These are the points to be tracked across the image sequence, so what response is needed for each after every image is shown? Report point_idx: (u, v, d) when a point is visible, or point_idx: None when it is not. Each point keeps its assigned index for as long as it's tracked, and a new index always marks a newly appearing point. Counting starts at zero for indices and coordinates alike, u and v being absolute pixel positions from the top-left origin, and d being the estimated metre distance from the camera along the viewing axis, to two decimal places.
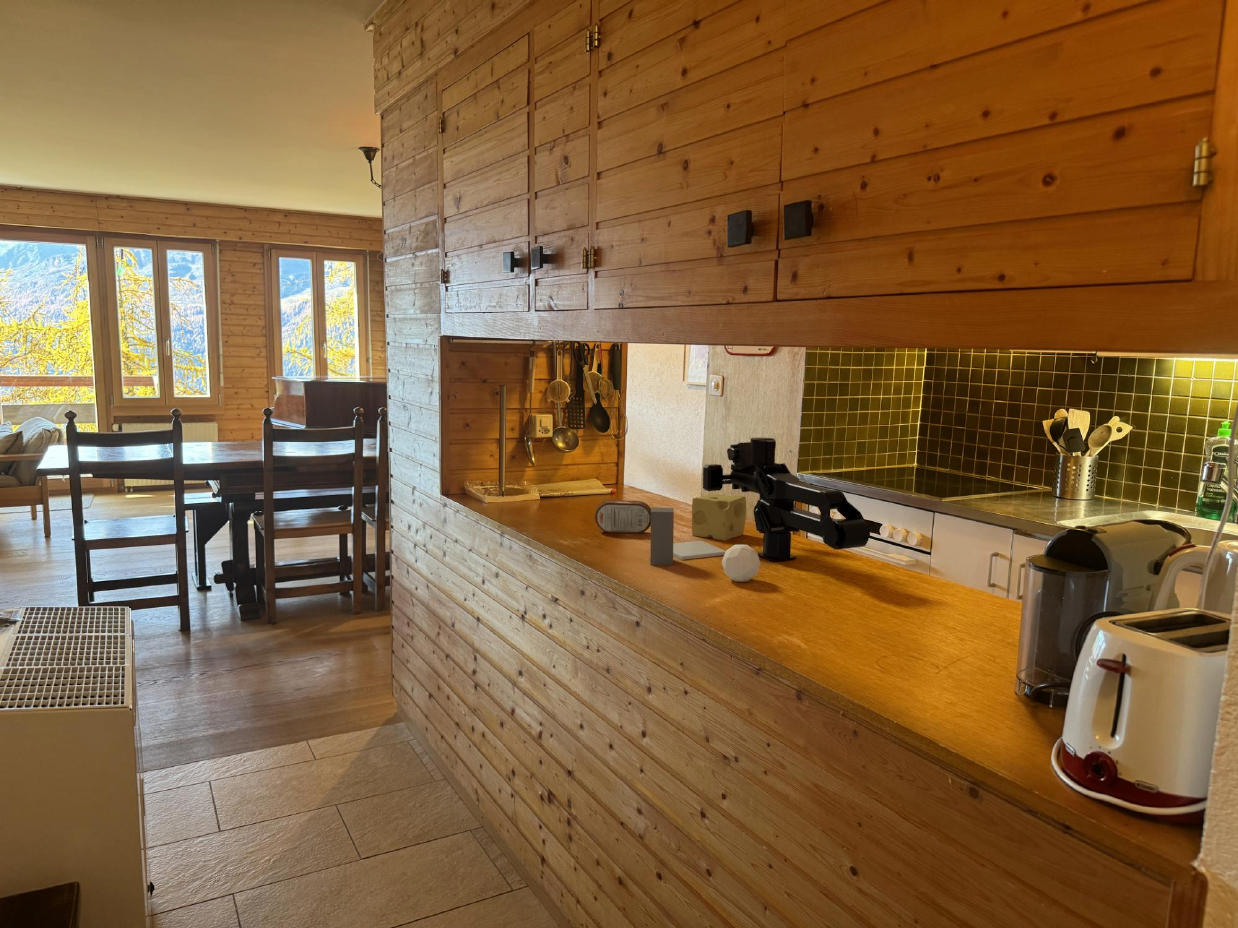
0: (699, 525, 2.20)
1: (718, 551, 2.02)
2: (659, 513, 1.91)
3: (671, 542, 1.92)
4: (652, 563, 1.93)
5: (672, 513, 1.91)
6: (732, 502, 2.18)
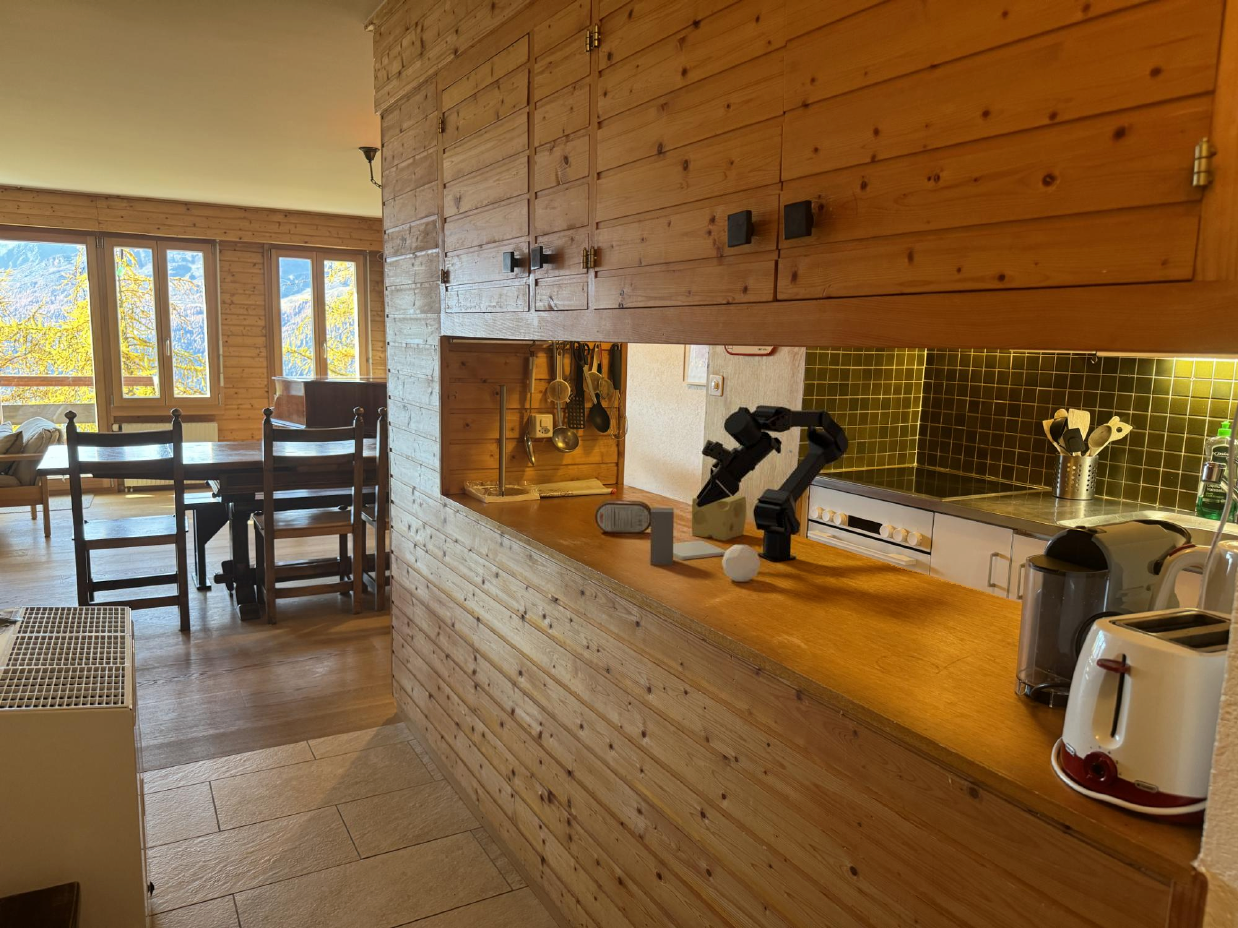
0: (699, 525, 2.20)
1: (718, 551, 2.02)
2: (659, 513, 1.91)
3: (671, 542, 1.92)
4: (652, 563, 1.93)
5: (672, 513, 1.91)
6: (732, 502, 2.18)
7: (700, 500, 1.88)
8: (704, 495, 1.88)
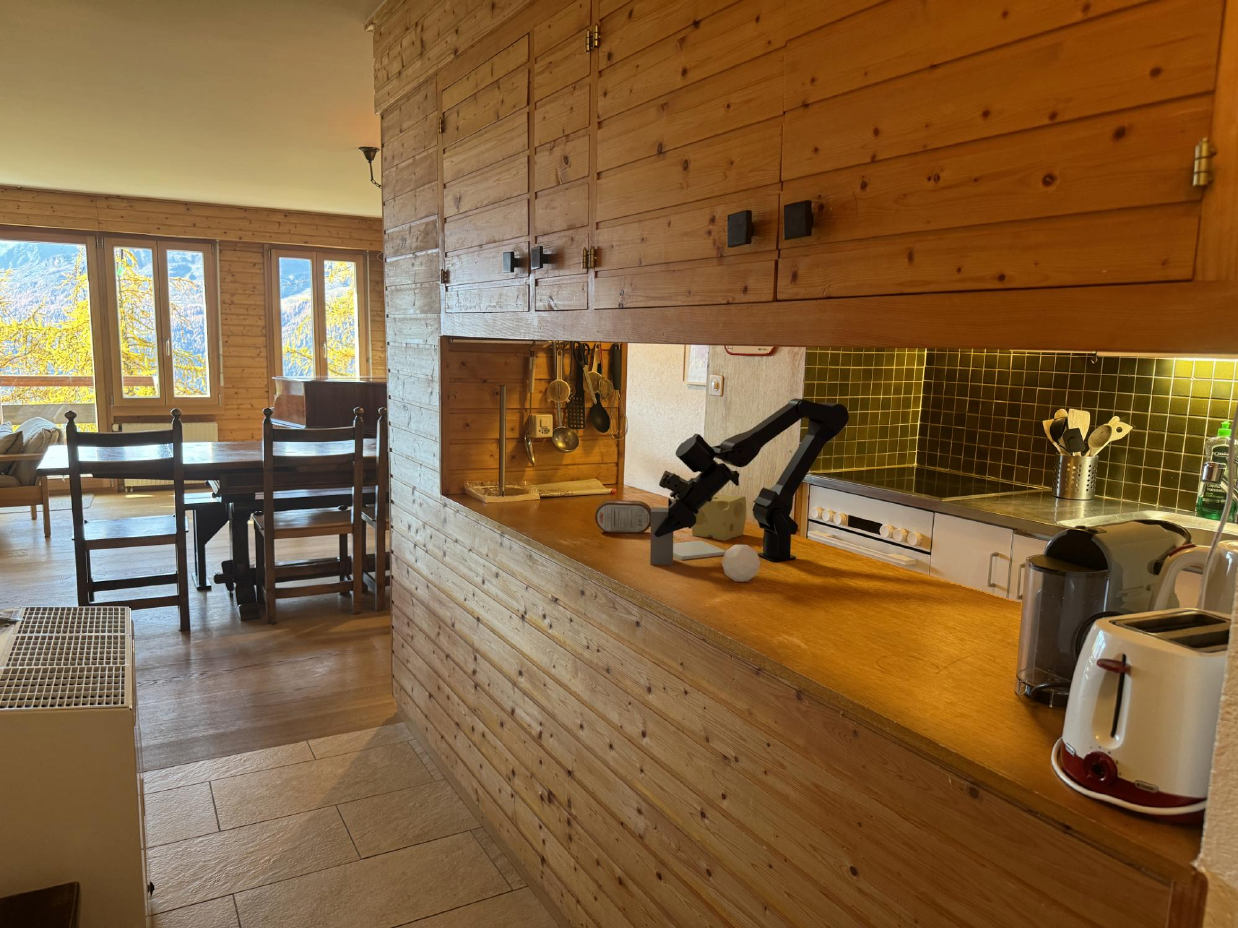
0: (699, 525, 2.20)
1: (718, 551, 2.02)
2: (659, 513, 1.91)
3: (671, 542, 1.92)
4: (652, 563, 1.93)
5: None
6: (732, 502, 2.18)
7: (658, 530, 1.91)
8: (662, 525, 1.90)
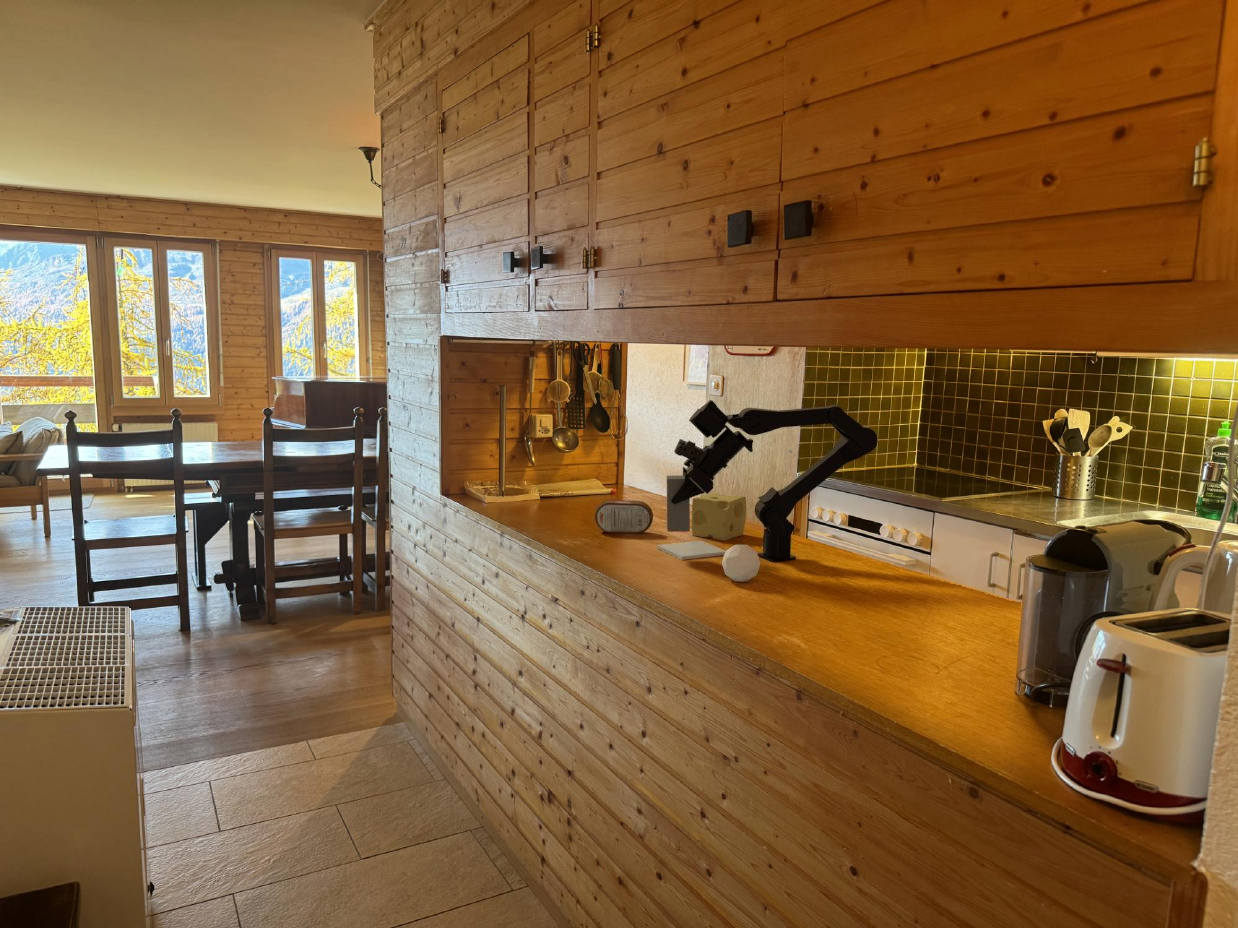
0: (699, 525, 2.20)
1: (718, 551, 2.02)
2: (675, 480, 1.95)
3: (687, 509, 1.96)
4: (669, 530, 1.96)
5: None
6: (732, 502, 2.18)
7: (675, 497, 1.95)
8: (678, 492, 1.94)
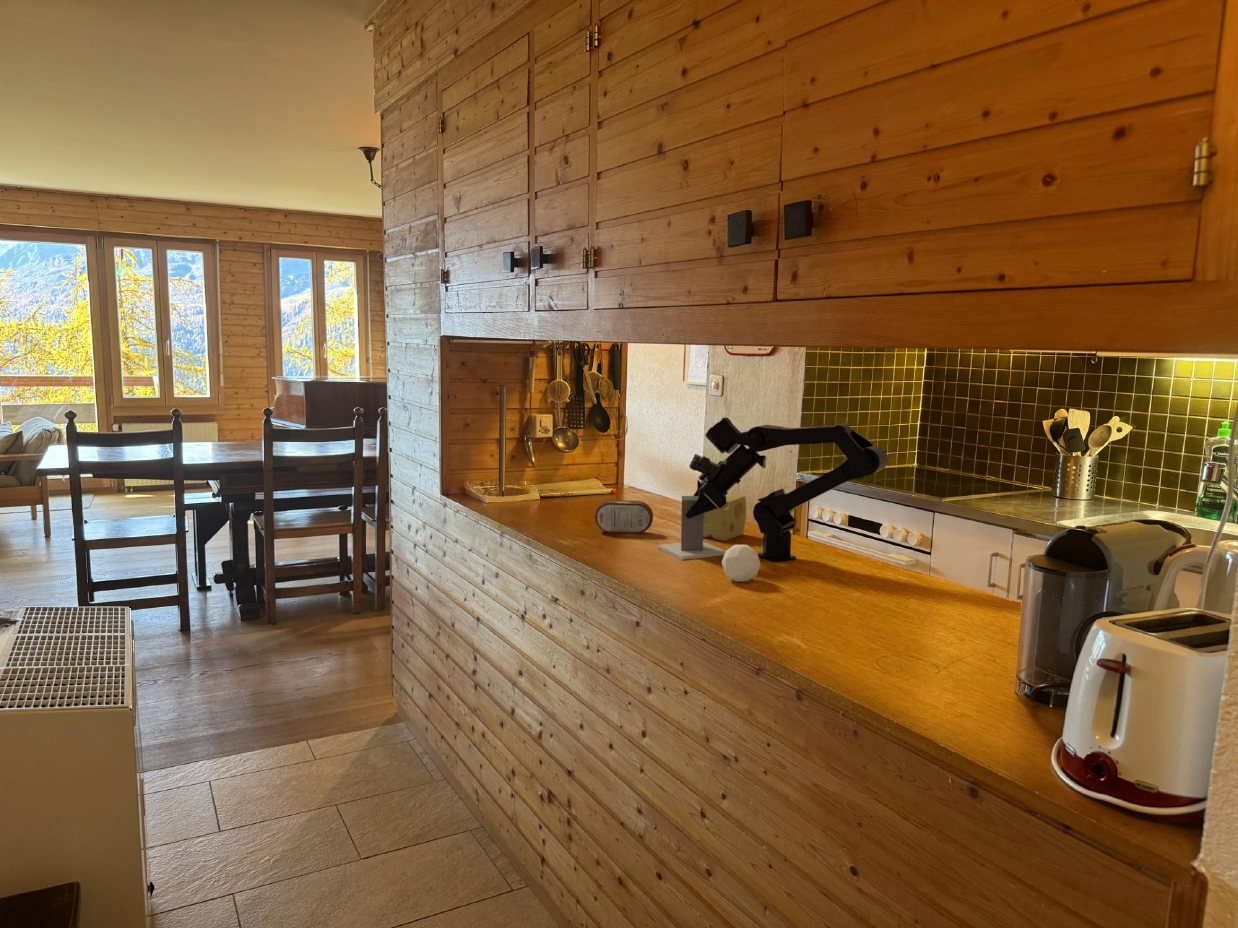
0: None
1: (718, 551, 2.02)
2: (690, 501, 2.01)
3: (701, 529, 2.02)
4: (683, 549, 2.03)
5: None
6: (732, 502, 2.18)
7: (689, 512, 1.99)
8: (693, 507, 1.99)
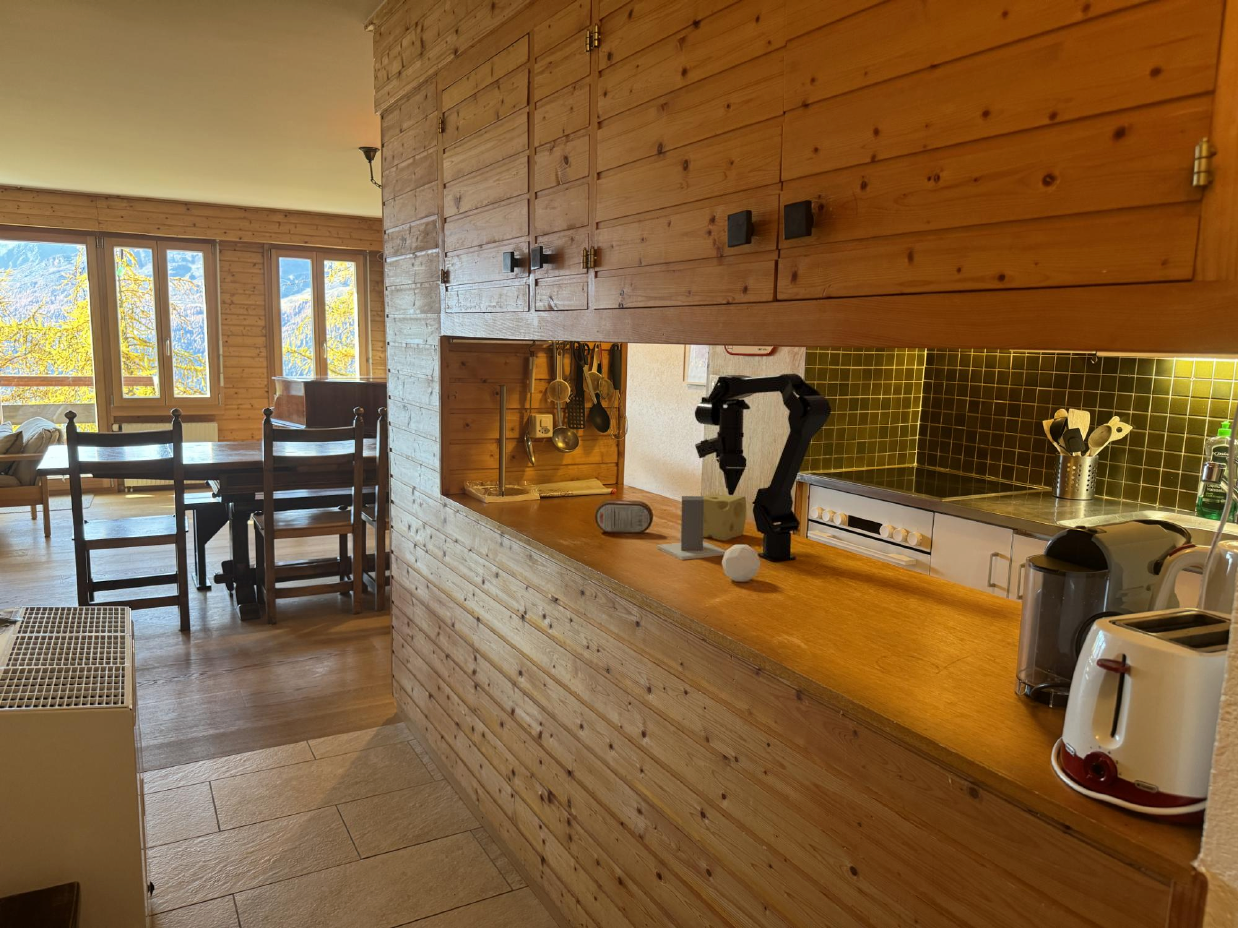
0: None
1: (718, 551, 2.02)
2: (690, 501, 2.01)
3: (701, 529, 2.02)
4: (683, 549, 2.03)
5: (702, 501, 2.01)
6: (732, 502, 2.18)
7: (729, 489, 2.06)
8: (728, 484, 2.05)
